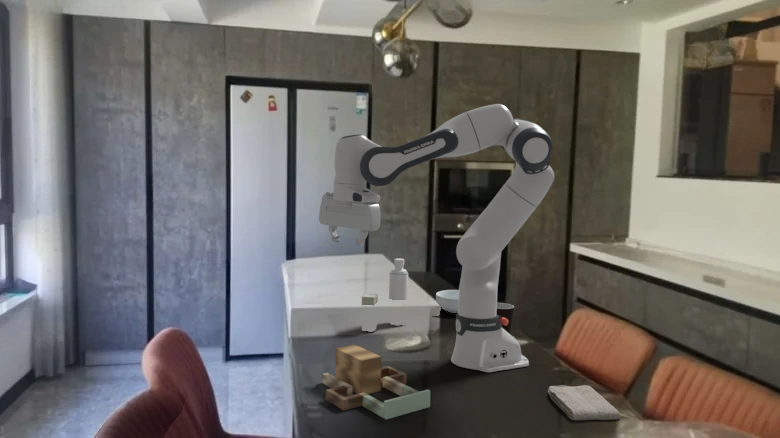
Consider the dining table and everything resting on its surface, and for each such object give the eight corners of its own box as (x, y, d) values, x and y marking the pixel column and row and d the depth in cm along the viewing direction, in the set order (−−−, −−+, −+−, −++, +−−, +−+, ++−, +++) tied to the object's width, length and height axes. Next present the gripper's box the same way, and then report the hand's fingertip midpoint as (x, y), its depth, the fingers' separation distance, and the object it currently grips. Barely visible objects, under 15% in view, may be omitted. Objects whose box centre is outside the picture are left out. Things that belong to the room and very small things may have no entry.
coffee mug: (515, 338, 209) (516, 309, 208) (489, 337, 209) (490, 308, 208) (509, 329, 221) (510, 301, 220) (484, 328, 221) (485, 300, 220)
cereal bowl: (433, 315, 238) (433, 297, 237) (437, 306, 254) (437, 288, 254) (478, 318, 235) (479, 300, 234) (479, 308, 251) (480, 291, 251)
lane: (304, 386, 160) (304, 377, 160) (378, 370, 174) (378, 361, 174) (364, 423, 139) (364, 412, 139) (443, 401, 153) (443, 391, 153)
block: (335, 381, 165) (335, 348, 164) (354, 377, 168) (355, 344, 168) (361, 396, 155) (361, 360, 154) (380, 391, 159) (381, 356, 158)
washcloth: (588, 393, 162) (588, 381, 161) (622, 422, 144) (623, 409, 144) (543, 394, 160) (544, 382, 160) (572, 423, 142) (573, 410, 142)
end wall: (383, 418, 142) (383, 400, 142) (427, 405, 150) (427, 389, 149) (386, 419, 141) (386, 402, 141) (430, 407, 149) (430, 390, 149)
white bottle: (390, 326, 221) (391, 256, 218) (387, 321, 227) (388, 253, 225) (408, 326, 222) (410, 256, 219) (405, 321, 228) (407, 253, 226)
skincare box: (373, 333, 212) (374, 297, 211) (360, 332, 213) (361, 296, 212) (377, 328, 218) (378, 293, 217) (365, 327, 219) (365, 293, 218)
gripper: (314, 191, 176) (313, 240, 177) (369, 196, 163) (367, 249, 165) (330, 191, 181) (328, 238, 182) (385, 196, 168) (382, 247, 169)
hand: (347, 244), depth 173 cm, fingers open, 8 cm apart
